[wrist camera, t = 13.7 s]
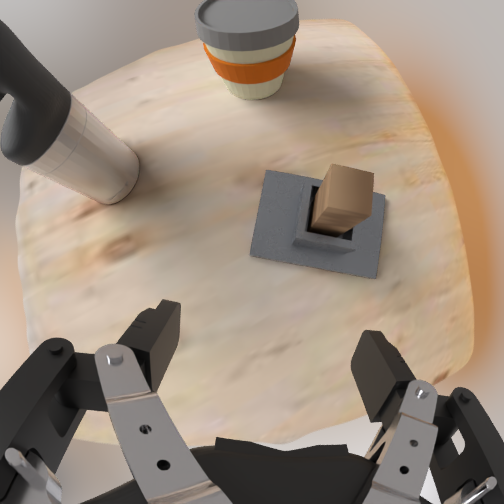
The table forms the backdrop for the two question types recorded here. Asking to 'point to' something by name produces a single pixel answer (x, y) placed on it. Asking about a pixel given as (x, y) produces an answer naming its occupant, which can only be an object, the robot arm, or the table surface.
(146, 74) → the table surface
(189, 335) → the table surface
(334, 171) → the brown square block
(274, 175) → the grey square tube bracket
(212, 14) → the reusable coffee cup
